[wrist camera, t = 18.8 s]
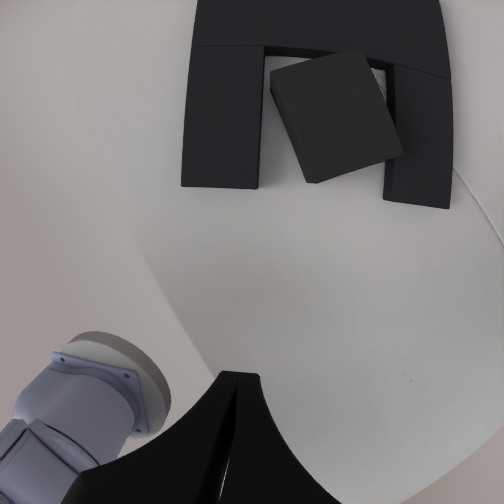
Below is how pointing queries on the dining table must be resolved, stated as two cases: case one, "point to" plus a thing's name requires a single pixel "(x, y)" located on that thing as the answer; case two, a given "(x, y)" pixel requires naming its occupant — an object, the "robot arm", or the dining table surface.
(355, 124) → the small block
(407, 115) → the base pad
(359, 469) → the dining table surface
